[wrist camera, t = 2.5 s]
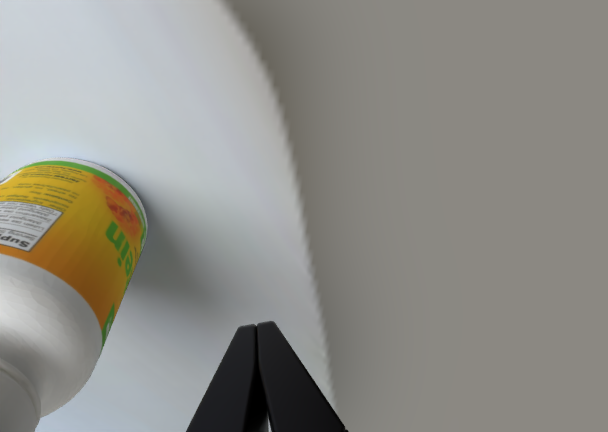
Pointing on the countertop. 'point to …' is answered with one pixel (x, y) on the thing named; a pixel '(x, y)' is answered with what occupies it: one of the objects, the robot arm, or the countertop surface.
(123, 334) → the countertop surface
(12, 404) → the supplement bottle
